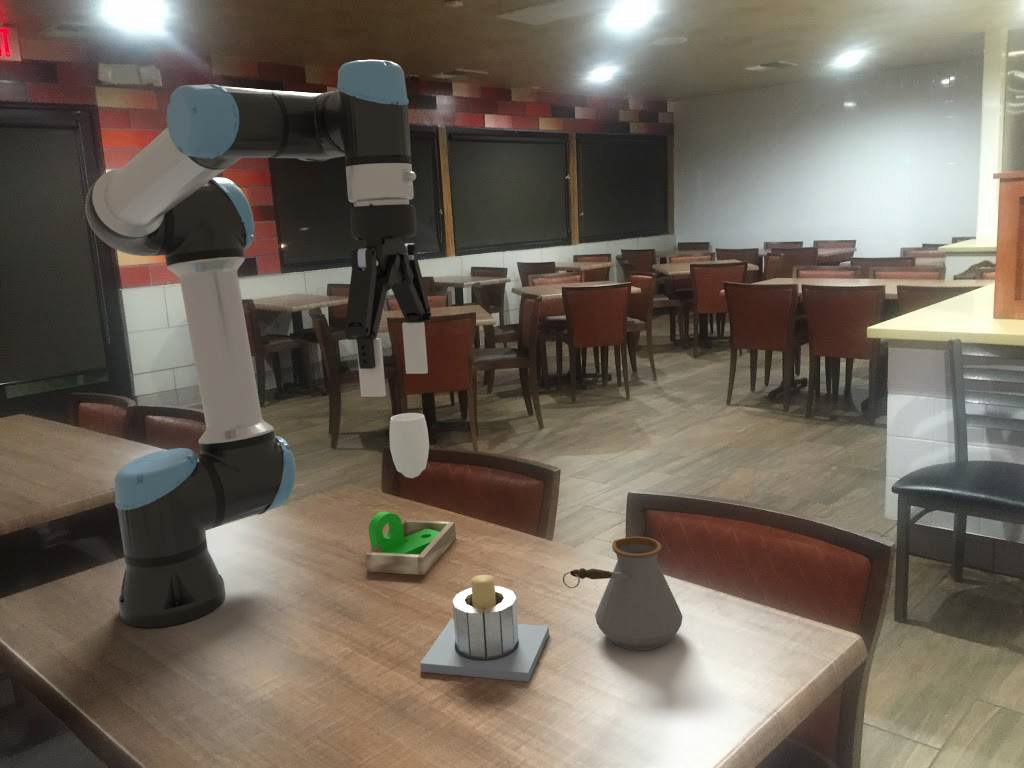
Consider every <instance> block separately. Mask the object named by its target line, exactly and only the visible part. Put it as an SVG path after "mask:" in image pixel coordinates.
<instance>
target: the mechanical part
mask: <svg viewBox="0 0 1024 768" xmlns="http://www.w3.org/2000/svg"><path fill="white" fill-rule="evenodd" d="M368 525H369V526H368V533H369V534H368V536H369V542H370V548H371V549H372V548H373V547H374V546H377V547H378V546H381V553H397V554H415V555H420V554H421V553H422V551H423V550H424V549H425V548H426V547H427V546H428V545H429V544H430V543H431V542H432V540H433V539H434V538H435V537H436V536H437V535H438V534H439V533H440V532H438V531H435V530H431V529H428V528H426V529H424V530H421V531H419V532H416V533H414V534H411V535H409V536H407V537H404V534H403V526H402V520H401V517H400V516H399V515H397V514H396V513H393V512H389V511H379V512H377V513H376V514H375V515H373V517H372V518H371V520H370V521H369V524H368ZM386 525H388V527H389V528H388V531H387V533H386V534H385V535H384V531H383V530H384V528H385V526H386ZM371 549H370V550H371Z"/></svg>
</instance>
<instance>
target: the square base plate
mask: <svg viewBox="0 0 1024 768" xmlns="http://www.w3.org/2000/svg"><path fill="white" fill-rule="evenodd" d="M470 584H471V587H470V588H472V602H473V607H475V608H488V607H493V606H496V598H495V586H496V582H495V577H494V576H492V575H489V574H480V575H479V574H478V575H475V576H474V577H472V578H471V580H470ZM549 636H550V626H549V625H548V626H547V625H537V624H525V623H518V642H517V644H516V646H515V648H514V649H512V650H511V651H509V652H507V653H505V654H502V655H499V656H494V657H489V658H487V656H486V658H481V657H471V656H468V655H466V654H464V653H462V652H460V651H459V650H458V648H457V646H456V642H455V628H454V618H450V619H449V621H448V622H447V624H446V626H444V628H443V629H442V631H441V632H440V634H439V635H438V637H437V638H436V639H435V641H434V643H433V644H432V645H431V647H430V648H429V649H428V651H427V653H426V654H425V656H424V657H423V659H422V660H421V661H420V663H419V666H420V667H419V668H420V673H429V674H430V673H431V674H441V675H451V676H463V677H470V678H471V677H473V678H481V679H492V680H493V679H495V680H503V681H514V682H515V681H517V682H523V683H524V682H525V683H528V682H530V679H531V677H532V675H533V672H534V670H535V668H536V665H537V663H538V661H539V658H540V656H541V654H542V653H543V650H544V647H545V645H546V643H547V640H548V639H549V638H548V637H549Z"/></svg>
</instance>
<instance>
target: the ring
mask: <svg viewBox="0 0 1024 768" xmlns="http://www.w3.org/2000/svg"><path fill="white" fill-rule="evenodd" d="M495 598H496V606H493V607H488V608H475V607H473V602H472V587H470V588H466V589H463V590H462V591H460V592H458V593H456V594H455V597H454V598H453V599H452V611H453V619H454V628H455V642H456V646H457V648H458V650H459V651H460V652H462V653H464V654H466V655H468V656H471V657H481V658H486V656H487V658H489V657H494V656H499V655H502V654H505V653H507V652H509V651H511V650H512V649H514V648H515V646H516V644H517V642H518V624H519V623H518V607H517V596H516V594H515V593H514V591H513V590H511V589H508V588H505V587H504V586H501V585H500V586H499V585H495Z"/></svg>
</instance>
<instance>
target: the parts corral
mask: <svg viewBox="0 0 1024 768" xmlns="http://www.w3.org/2000/svg"><path fill="white" fill-rule="evenodd" d="M401 521H402V526H403V534H404V537H407V536H409V535H411V534H414V533H416V532H419V531H421V530H424V529H426V528H428V529H431V530H435V531H438V532H440V533H439V534H438V535H437V536H436V537H435V538H434V539H433V540H432V542H431V543H430V544H429V545H428V546H427V547H426V548H425V549H424V550H423V551H422V553H421V554H420V555H415V554H397V553H381V546H378V547H377V546H374V547H373V548H372V549H370V550H369V551H367V552H366V554H365V560H366V561H365V562H366V563H365V564H366V572H370V573H385V574H386V573H389V574H399V575H400V574H401V575H403V574H404V575H416V576H417V575H419V576H425V575H426V574H427V573H428V572H429V571H430V570H431V568H432V567H433V566H434V564H435V563H436V562H437V561H438V560H439V558H440V557H441V556H442V555H443V554H444V553H445V552H446V551H447V549H448V548H449V547H450V545H451V544H452V543H453V542H454V541H455V540H456V538H457V537H456V534H457V533H456V522H455V521H441V520H439V521H437V520H422V519H421V520H419V519H417V520H416V519H415V520H414V519H402V520H401Z"/></svg>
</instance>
